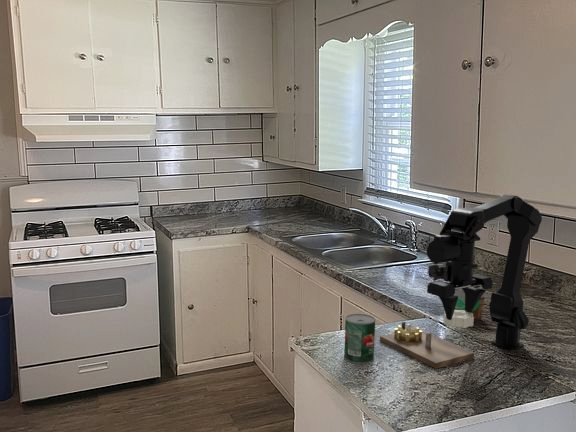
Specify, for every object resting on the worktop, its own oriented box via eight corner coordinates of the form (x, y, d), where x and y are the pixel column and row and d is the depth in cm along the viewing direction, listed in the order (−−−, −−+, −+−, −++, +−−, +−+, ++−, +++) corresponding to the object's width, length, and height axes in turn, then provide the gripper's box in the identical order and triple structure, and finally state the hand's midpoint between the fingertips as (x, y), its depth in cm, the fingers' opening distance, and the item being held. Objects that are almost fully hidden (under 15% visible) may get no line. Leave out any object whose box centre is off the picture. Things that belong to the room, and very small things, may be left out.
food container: (440, 315, 194) (442, 286, 192) (449, 311, 198) (451, 282, 196) (476, 324, 185) (478, 293, 184) (485, 320, 190) (487, 290, 188)
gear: (408, 331, 174) (409, 318, 173) (427, 339, 167) (427, 326, 167) (388, 336, 170) (389, 322, 169) (406, 344, 164) (407, 330, 163)
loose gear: (456, 316, 160) (457, 307, 159) (479, 324, 154) (479, 315, 153) (437, 321, 156) (438, 312, 155) (459, 329, 150) (460, 320, 149)
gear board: (416, 332, 177) (417, 315, 176) (473, 358, 159) (475, 338, 158) (379, 341, 170) (380, 322, 169) (435, 368, 152) (436, 348, 151)
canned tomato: (343, 352, 162) (344, 313, 160) (372, 352, 161) (373, 313, 160) (344, 363, 154) (346, 323, 152) (375, 364, 153) (377, 323, 152)
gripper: (462, 249, 164) (458, 303, 166) (413, 256, 154) (410, 314, 156) (495, 257, 155) (491, 314, 157) (446, 265, 144) (442, 326, 147)
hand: (458, 317), depth 154 cm, fingers closed on loose gear, 7 cm apart
